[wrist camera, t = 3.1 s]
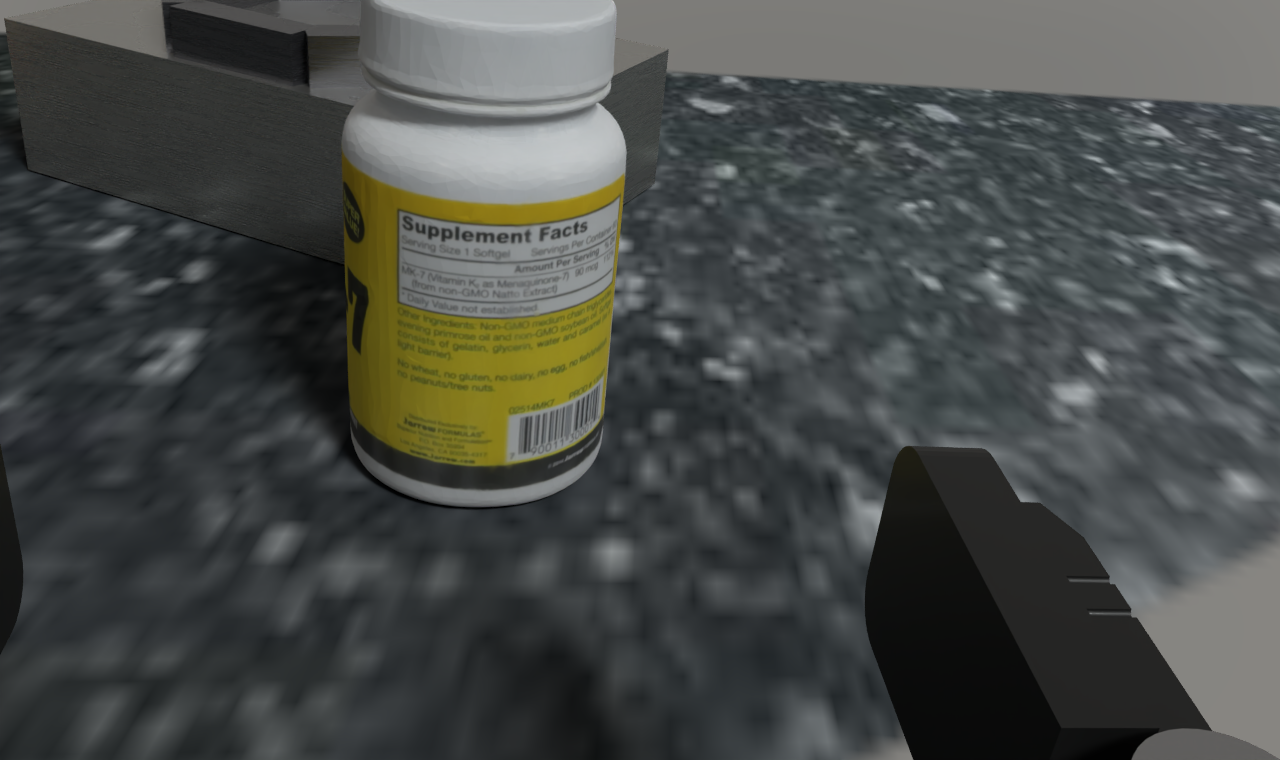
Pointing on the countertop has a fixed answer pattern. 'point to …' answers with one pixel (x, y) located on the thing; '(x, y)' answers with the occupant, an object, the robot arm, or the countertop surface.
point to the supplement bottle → (481, 245)
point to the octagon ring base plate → (235, 108)
